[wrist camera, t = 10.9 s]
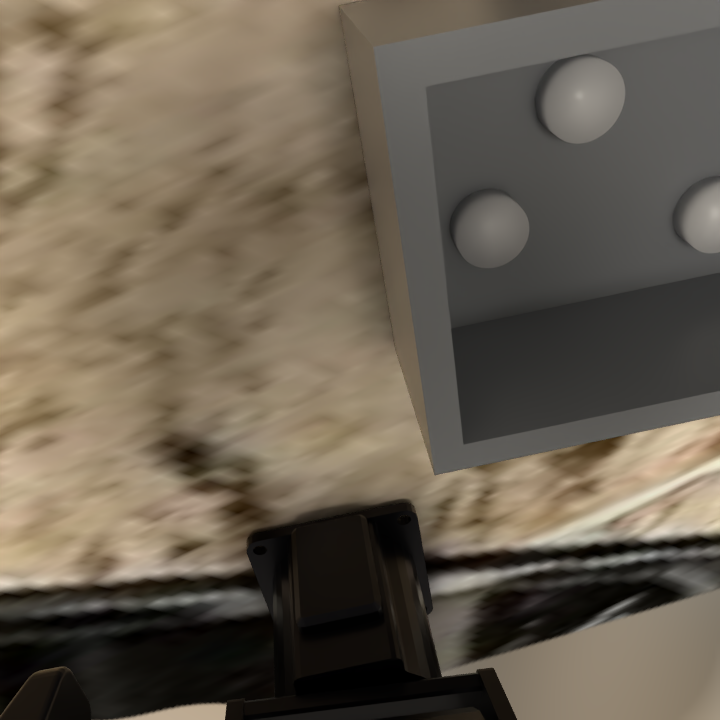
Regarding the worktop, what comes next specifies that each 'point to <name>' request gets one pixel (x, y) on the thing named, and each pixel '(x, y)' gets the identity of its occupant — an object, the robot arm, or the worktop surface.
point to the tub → (544, 214)
